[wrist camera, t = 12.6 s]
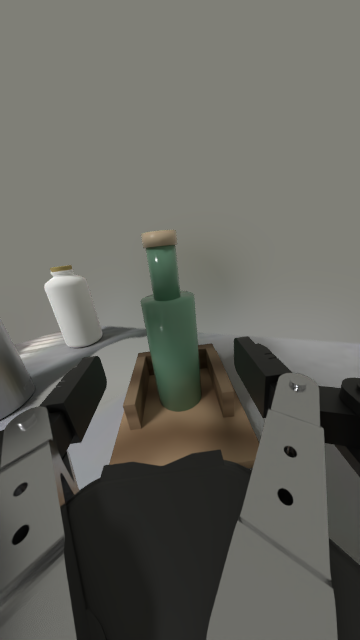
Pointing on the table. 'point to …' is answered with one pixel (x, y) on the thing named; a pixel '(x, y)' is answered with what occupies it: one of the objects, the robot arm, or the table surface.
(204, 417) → the bottle rest
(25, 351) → the table surface
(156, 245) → the bottle
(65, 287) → the potion bottle
